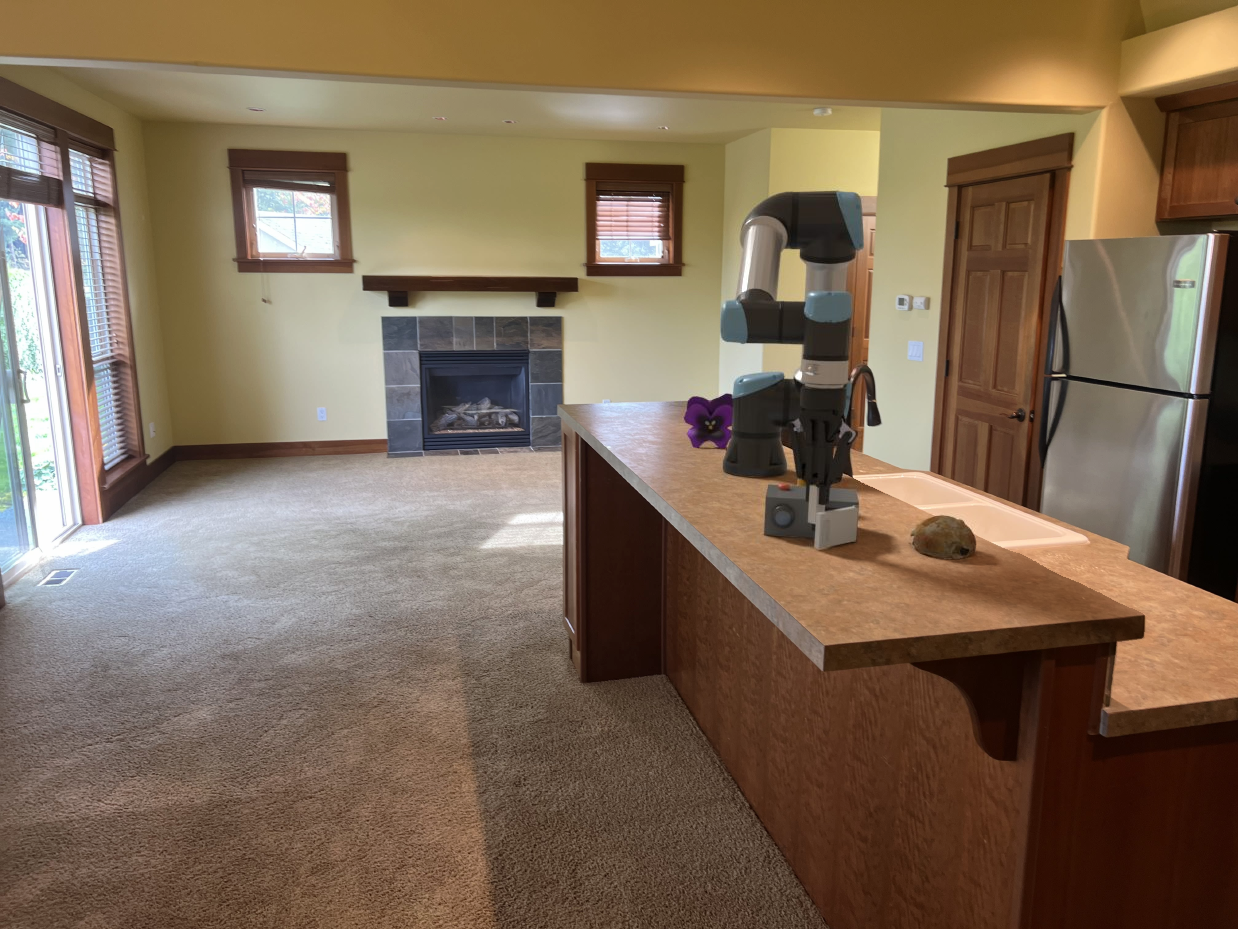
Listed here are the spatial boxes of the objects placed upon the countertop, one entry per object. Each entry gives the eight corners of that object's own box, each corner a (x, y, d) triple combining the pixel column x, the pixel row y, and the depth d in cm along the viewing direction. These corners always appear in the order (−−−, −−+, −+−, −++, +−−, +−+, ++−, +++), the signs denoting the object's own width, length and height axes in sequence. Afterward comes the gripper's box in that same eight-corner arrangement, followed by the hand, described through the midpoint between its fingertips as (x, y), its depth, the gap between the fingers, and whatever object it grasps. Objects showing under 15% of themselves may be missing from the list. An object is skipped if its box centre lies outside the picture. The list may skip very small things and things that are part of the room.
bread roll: (932, 581, 147) (952, 544, 142) (893, 540, 154) (911, 504, 149) (974, 572, 151) (995, 537, 147) (935, 533, 158) (953, 498, 154)
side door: (814, 548, 151) (816, 511, 149) (853, 540, 156) (855, 504, 154) (821, 550, 149) (823, 514, 148) (860, 542, 154) (862, 506, 153)
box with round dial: (766, 520, 169) (768, 480, 167) (853, 526, 165) (856, 485, 164) (763, 537, 157) (765, 494, 156) (856, 543, 154) (859, 500, 153)
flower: (684, 458, 251) (681, 444, 238) (688, 408, 255) (684, 391, 242) (736, 461, 249) (736, 446, 236) (739, 410, 253) (739, 393, 240)
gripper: (778, 383, 150) (771, 518, 155) (845, 390, 141) (836, 533, 146) (804, 380, 155) (797, 510, 160) (870, 387, 146) (861, 525, 151)
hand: (815, 521), depth 153 cm, fingers closed
